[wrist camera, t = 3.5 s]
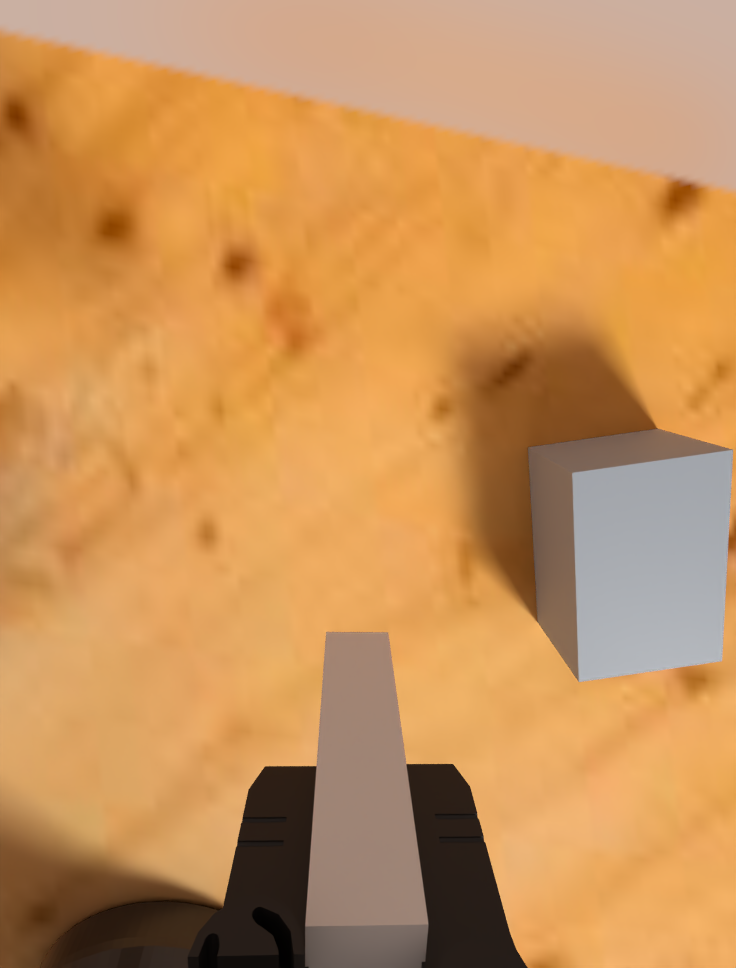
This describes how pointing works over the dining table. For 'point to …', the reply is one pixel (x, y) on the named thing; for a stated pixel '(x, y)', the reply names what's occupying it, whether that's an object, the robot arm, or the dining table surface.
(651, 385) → the dining table surface
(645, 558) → the slate block
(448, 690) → the dining table surface
